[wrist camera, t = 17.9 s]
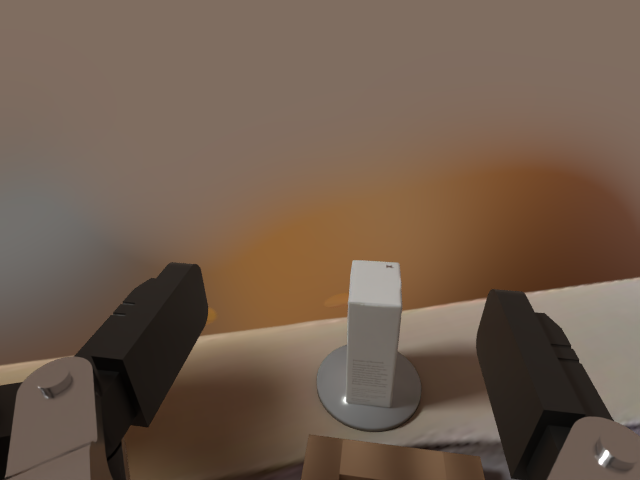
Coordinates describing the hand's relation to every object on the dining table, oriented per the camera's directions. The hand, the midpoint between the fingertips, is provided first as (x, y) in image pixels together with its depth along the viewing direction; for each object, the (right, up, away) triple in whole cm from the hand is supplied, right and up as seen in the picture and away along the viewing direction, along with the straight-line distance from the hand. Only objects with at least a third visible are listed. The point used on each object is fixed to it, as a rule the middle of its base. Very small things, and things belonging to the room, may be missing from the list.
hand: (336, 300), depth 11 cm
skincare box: (+4, -12, +26) cm, 29 cm away
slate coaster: (+4, -12, +27) cm, 30 cm away
